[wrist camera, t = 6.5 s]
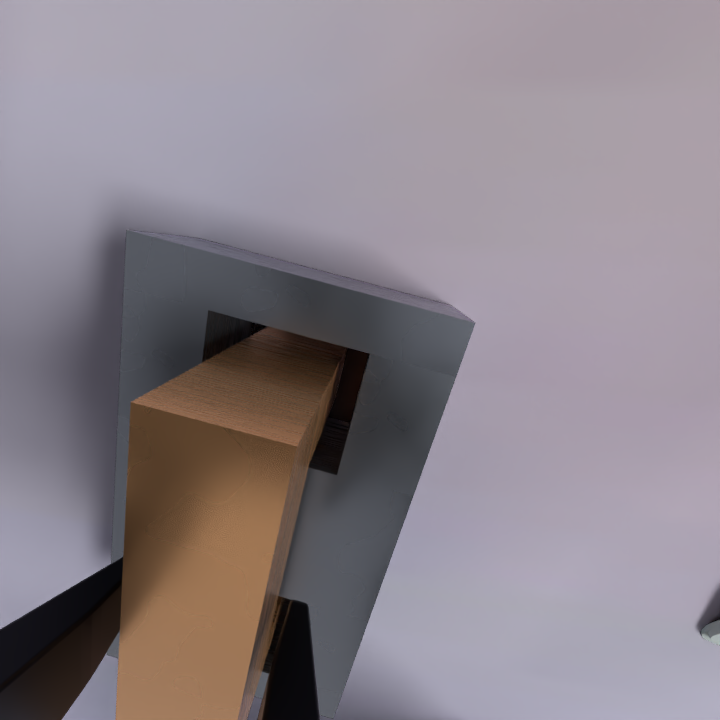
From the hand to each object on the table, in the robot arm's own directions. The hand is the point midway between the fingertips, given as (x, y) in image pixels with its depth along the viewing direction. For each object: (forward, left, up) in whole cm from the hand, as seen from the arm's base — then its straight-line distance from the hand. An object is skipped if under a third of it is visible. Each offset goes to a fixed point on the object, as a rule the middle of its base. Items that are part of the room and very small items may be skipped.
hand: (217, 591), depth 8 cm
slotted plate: (0, 0, -5) cm, 5 cm away
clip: (0, 0, -5) cm, 5 cm away
